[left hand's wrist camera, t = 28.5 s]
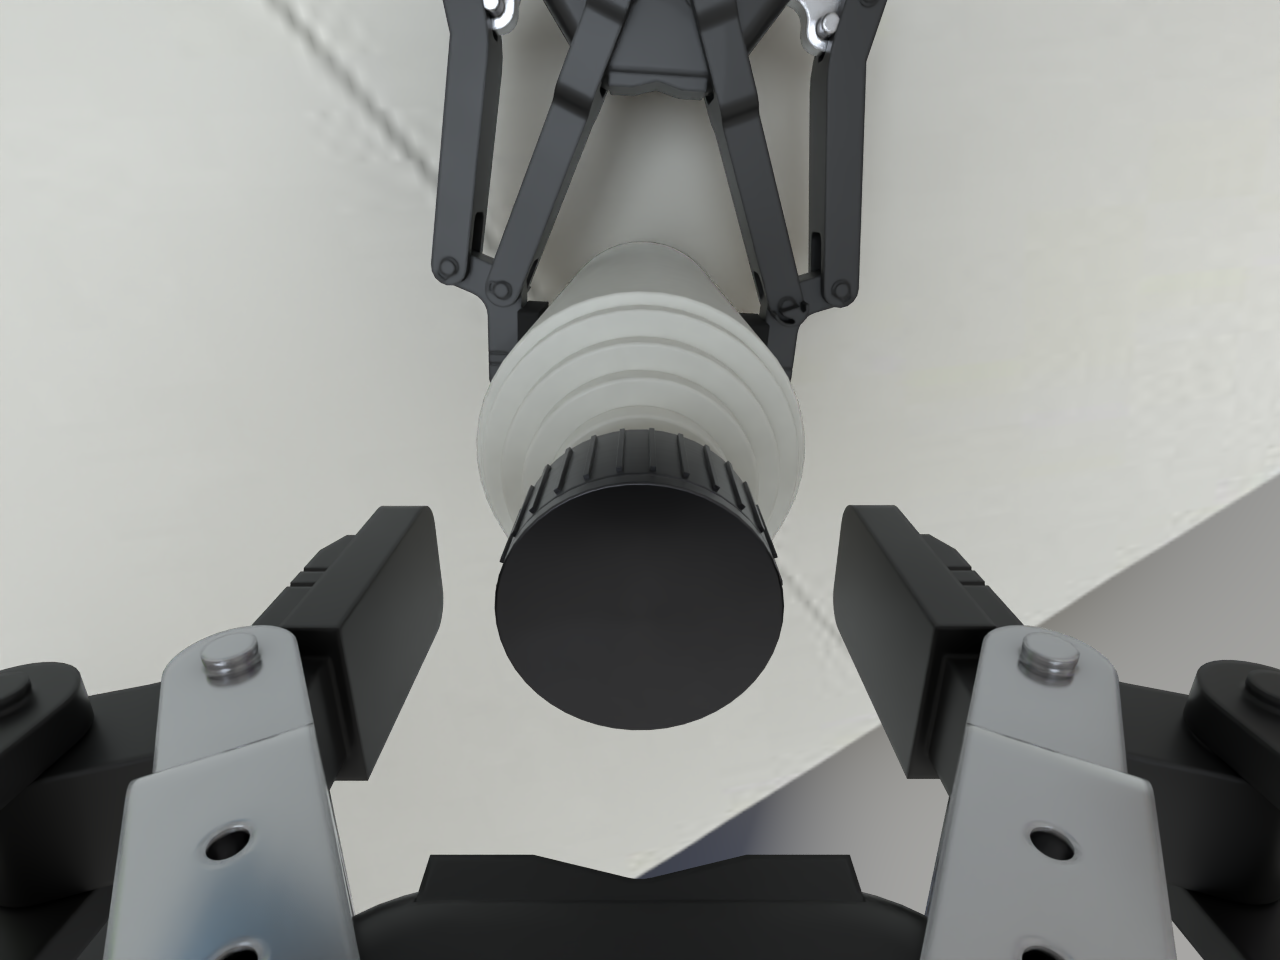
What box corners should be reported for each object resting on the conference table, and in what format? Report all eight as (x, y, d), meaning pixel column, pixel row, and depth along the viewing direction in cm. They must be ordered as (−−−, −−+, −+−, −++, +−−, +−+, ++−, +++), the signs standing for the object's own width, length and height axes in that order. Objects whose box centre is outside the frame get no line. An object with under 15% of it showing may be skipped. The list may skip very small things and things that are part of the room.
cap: (472, 492, 12) (432, 558, 9) (698, 380, 11) (712, 425, 9) (590, 676, 13) (580, 770, 11) (799, 588, 12) (832, 670, 10)
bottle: (547, 254, 31) (330, 382, 9) (713, 229, 30) (882, 304, 9) (576, 413, 34) (459, 794, 12) (729, 392, 33) (887, 748, 12)
